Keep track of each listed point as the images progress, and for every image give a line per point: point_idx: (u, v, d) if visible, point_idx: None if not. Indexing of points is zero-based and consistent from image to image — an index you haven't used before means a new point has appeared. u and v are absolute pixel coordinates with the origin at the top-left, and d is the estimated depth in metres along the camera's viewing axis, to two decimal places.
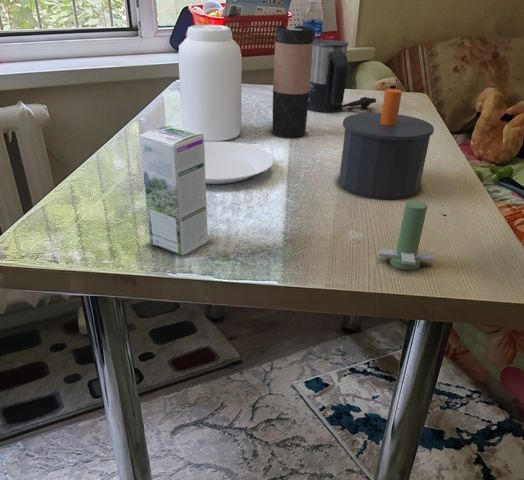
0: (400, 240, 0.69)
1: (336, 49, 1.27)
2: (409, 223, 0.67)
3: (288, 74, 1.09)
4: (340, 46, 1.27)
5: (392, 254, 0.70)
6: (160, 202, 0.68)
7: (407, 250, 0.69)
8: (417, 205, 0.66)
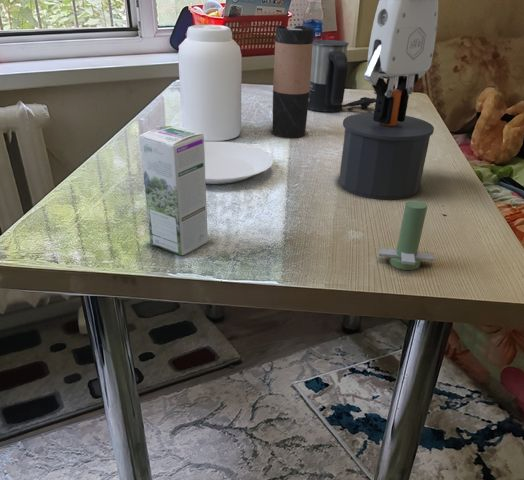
0: (400, 240, 0.69)
1: (336, 49, 1.27)
2: (409, 223, 0.67)
3: (288, 74, 1.09)
4: (340, 46, 1.27)
5: (392, 254, 0.70)
6: (160, 202, 0.68)
7: (407, 250, 0.69)
8: (417, 205, 0.66)
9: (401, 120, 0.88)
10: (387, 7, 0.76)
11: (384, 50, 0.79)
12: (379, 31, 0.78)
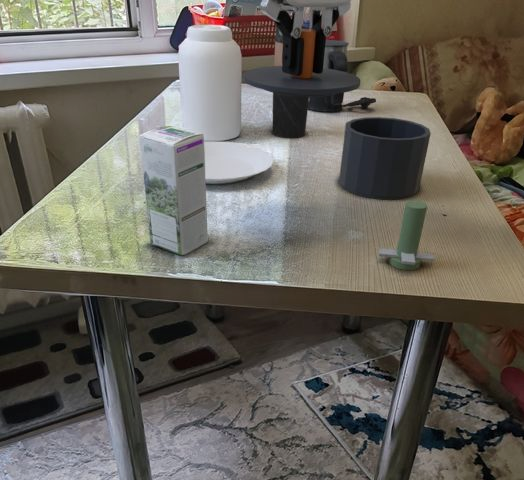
0: (400, 240, 0.69)
1: (336, 49, 1.27)
2: (409, 223, 0.67)
3: None
4: (340, 46, 1.27)
5: (392, 254, 0.70)
6: (160, 202, 0.68)
7: (407, 250, 0.69)
8: (417, 205, 0.66)
9: (318, 71, 0.67)
10: None
11: None
12: None
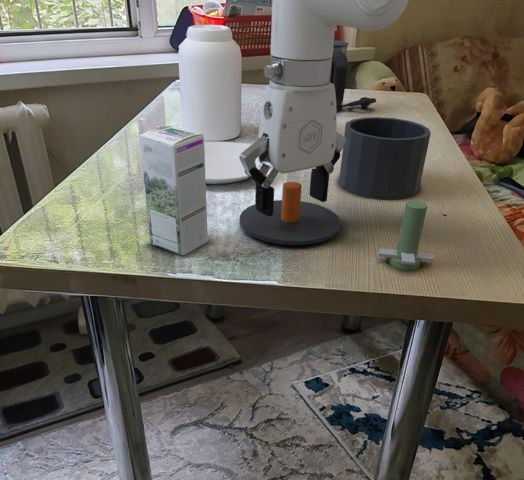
0: (400, 240, 0.69)
1: (336, 49, 1.27)
2: (409, 223, 0.67)
3: None
4: (340, 46, 1.27)
5: (392, 254, 0.70)
6: (160, 202, 0.68)
7: (407, 250, 0.69)
8: (417, 205, 0.66)
9: (323, 200, 0.79)
10: (272, 100, 0.66)
11: (272, 146, 0.69)
12: (266, 125, 0.68)
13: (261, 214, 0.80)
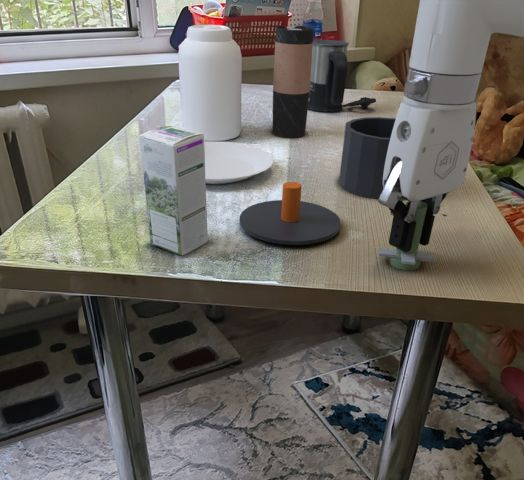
0: None
1: (336, 49, 1.27)
2: None
3: (288, 74, 1.09)
4: (340, 46, 1.27)
5: (392, 254, 0.70)
6: (160, 202, 0.68)
7: None
8: (417, 205, 0.66)
9: (424, 244, 0.69)
10: (410, 119, 0.58)
11: (406, 172, 0.60)
12: (399, 147, 0.60)
13: (261, 214, 0.80)
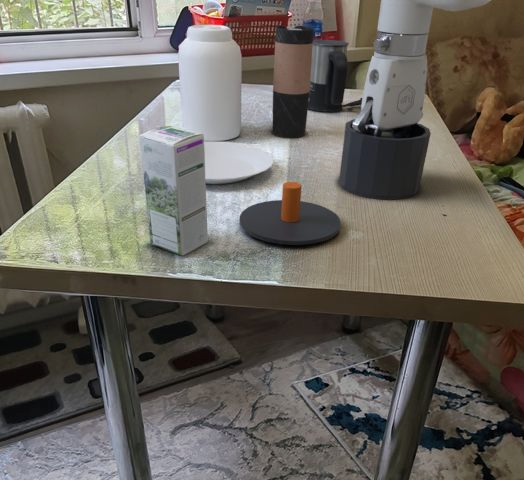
0: None
1: (336, 49, 1.27)
2: None
3: (288, 74, 1.09)
4: (340, 46, 1.27)
5: None
6: (160, 202, 0.68)
7: None
8: (386, 134, 0.89)
9: None
10: (378, 68, 0.81)
11: (376, 107, 0.83)
12: (371, 89, 0.83)
13: (261, 214, 0.80)
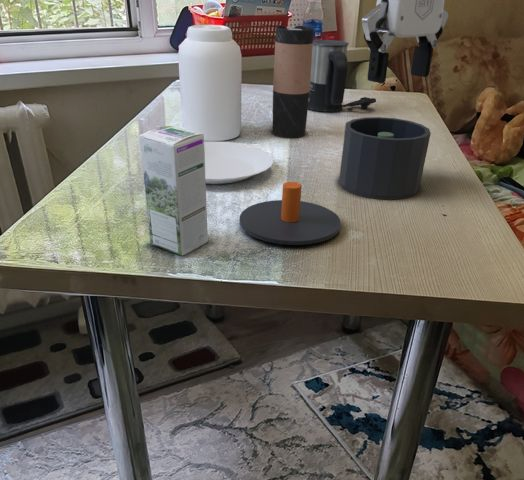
0: None
1: (336, 49, 1.27)
2: None
3: (288, 74, 1.09)
4: (340, 46, 1.27)
5: None
6: (160, 202, 0.68)
7: None
8: (386, 134, 0.89)
9: (425, 75, 0.86)
10: None
11: (392, 9, 0.76)
12: None
13: (261, 214, 0.80)
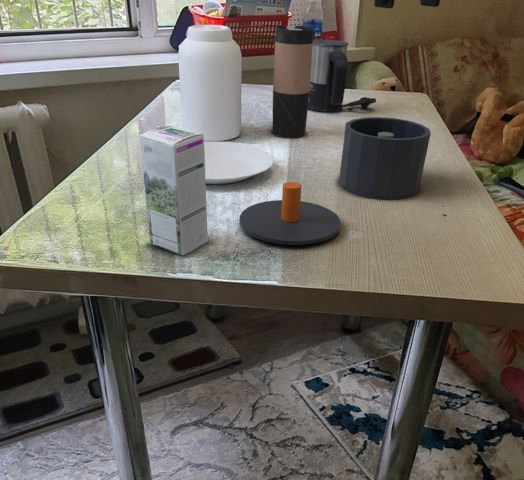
0: None
1: (336, 49, 1.27)
2: None
3: (288, 74, 1.09)
4: (340, 46, 1.27)
5: None
6: (160, 202, 0.68)
7: None
8: (386, 134, 0.89)
9: (435, 4, 0.80)
10: None
11: None
12: None
13: (261, 214, 0.80)
